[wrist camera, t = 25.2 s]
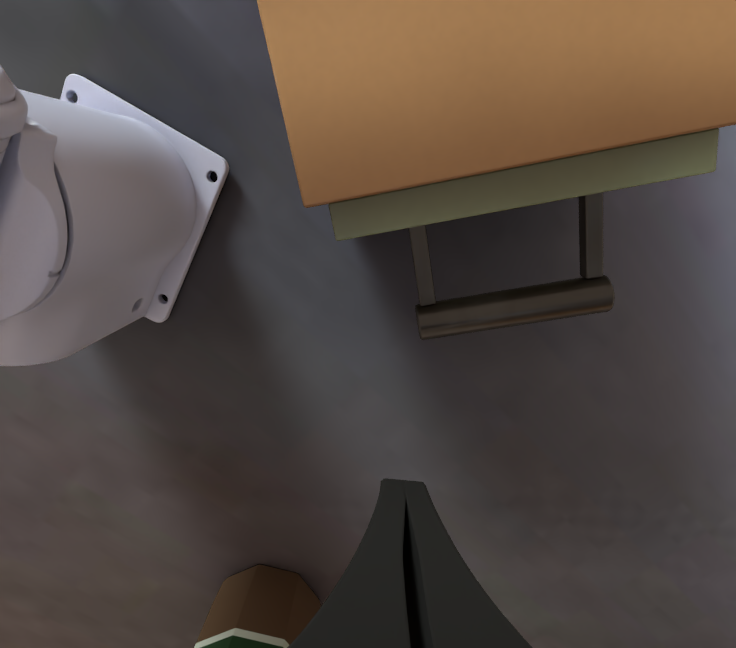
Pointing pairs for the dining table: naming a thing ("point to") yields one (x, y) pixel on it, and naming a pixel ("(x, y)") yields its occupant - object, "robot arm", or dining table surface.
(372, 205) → the green drawer
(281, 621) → the beer bottle
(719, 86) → the wooden drawer box
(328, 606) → the robot arm
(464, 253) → the dining table surface
